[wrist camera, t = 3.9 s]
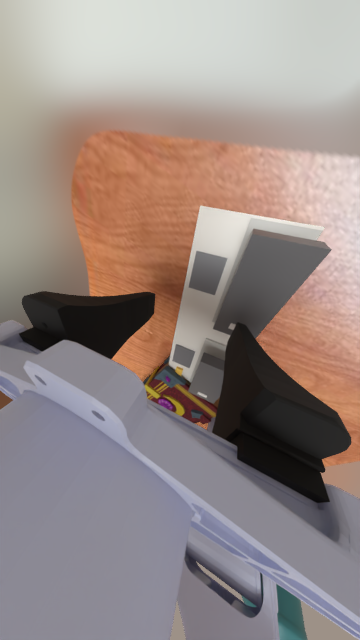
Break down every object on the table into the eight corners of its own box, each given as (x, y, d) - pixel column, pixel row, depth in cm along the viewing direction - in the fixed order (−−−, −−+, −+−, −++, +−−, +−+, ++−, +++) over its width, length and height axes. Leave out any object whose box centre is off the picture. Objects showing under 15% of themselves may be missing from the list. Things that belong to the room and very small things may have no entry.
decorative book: (227, 389, 23) (225, 421, 19) (179, 410, 33) (170, 434, 29) (175, 348, 23) (162, 371, 19) (142, 381, 33) (128, 401, 29)
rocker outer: (324, 242, 7) (332, 250, 6) (252, 333, 13) (251, 344, 12) (253, 228, 8) (252, 234, 7) (215, 320, 14) (212, 329, 13)
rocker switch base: (306, 229, 11) (327, 226, 8) (220, 376, 22) (217, 395, 19) (208, 212, 12) (199, 204, 10) (174, 357, 24) (166, 372, 21)
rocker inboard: (238, 366, 13) (237, 378, 13) (215, 394, 19) (213, 404, 18) (203, 352, 14) (200, 362, 13) (190, 383, 20) (187, 392, 19)
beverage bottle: (286, 455, 25) (363, 822, 9) (258, 457, 29) (279, 719, 13) (257, 434, 26) (283, 759, 10) (233, 439, 30) (224, 676, 14)
